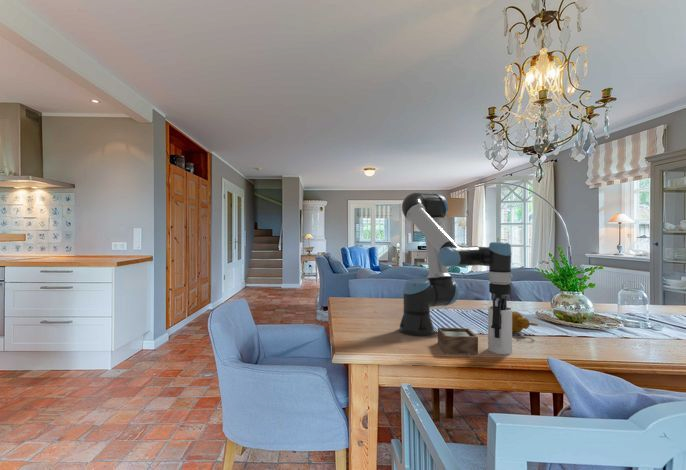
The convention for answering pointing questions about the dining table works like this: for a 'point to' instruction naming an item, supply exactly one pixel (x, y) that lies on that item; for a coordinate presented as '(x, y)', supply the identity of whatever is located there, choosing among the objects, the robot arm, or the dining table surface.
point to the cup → (506, 331)
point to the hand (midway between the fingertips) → (499, 343)
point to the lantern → (519, 322)
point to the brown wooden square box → (457, 340)
